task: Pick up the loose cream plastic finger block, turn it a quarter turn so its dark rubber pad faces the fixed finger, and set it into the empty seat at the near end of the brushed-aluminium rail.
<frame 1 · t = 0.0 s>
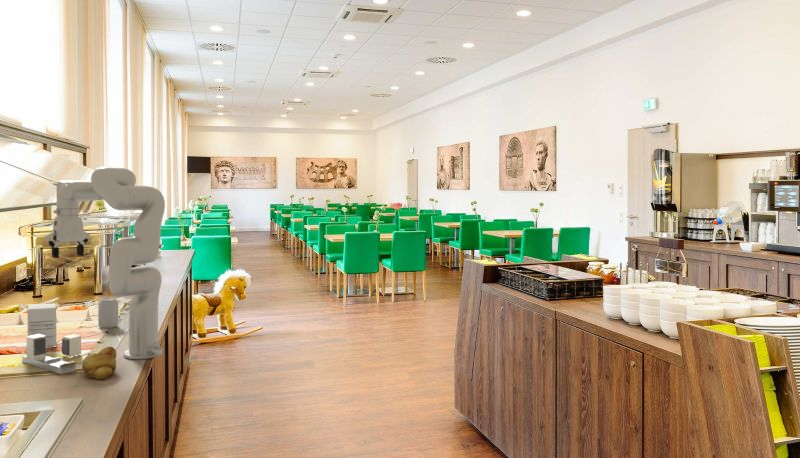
hand: (68, 256, 227), 31 cm above the counter, tool pointing down, fingers open, 9 cm apart
finger: (72, 356, 203), on the counter
supplement box: (42, 346, 214), on the counter
rail: (48, 366, 191), on the counter
bread roll: (99, 376, 185), on the counter
grey upright block: (108, 327, 245), on the counter
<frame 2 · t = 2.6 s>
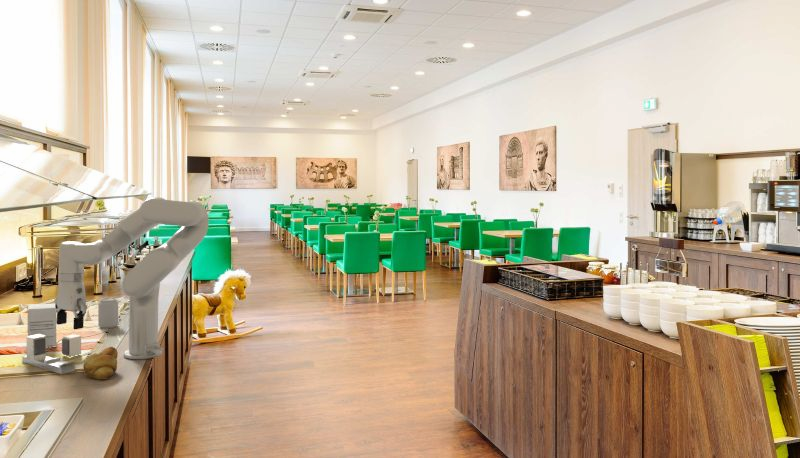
hand: (69, 326, 203), 11 cm above the counter, tool pointing down, fingers open, 9 cm apart
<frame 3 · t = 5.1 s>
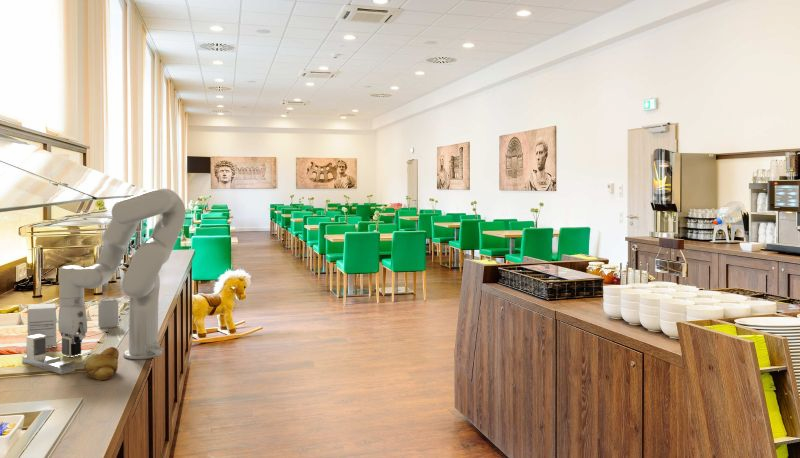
hand: (72, 352, 203), 1 cm above the counter, tool pointing down, fingers closed on finger, 4 cm apart
finger: (72, 355, 203), on the counter, touching gripper
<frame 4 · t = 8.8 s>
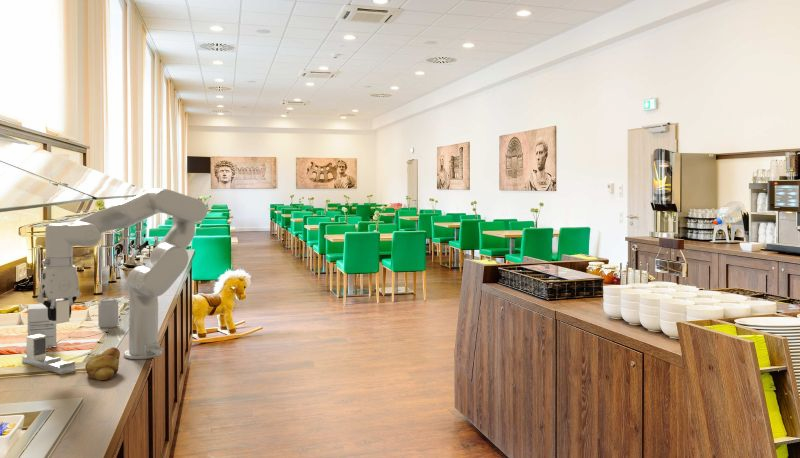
hand: (59, 318, 187), 17 cm above the counter, tool pointing down, fingers closed on finger, 4 cm apart
finger: (59, 321, 187), point 16 cm above the counter, touching gripper
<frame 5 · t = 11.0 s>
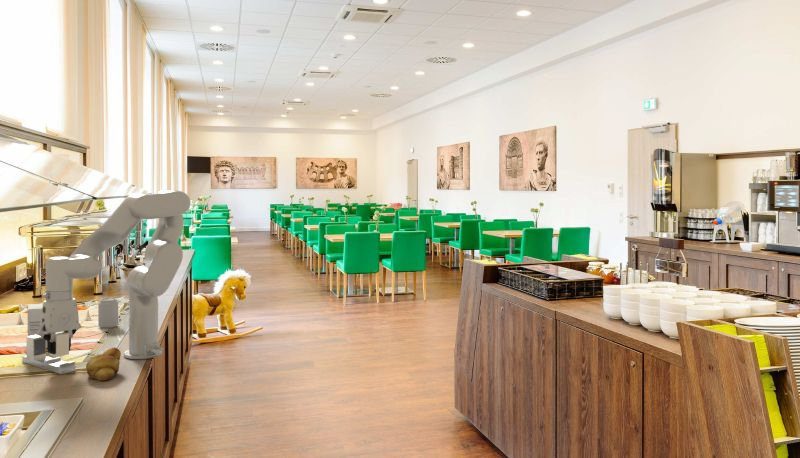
hand: (59, 351, 188), 6 cm above the counter, tool pointing down, fingers closed on finger, 4 cm apart
finger: (59, 354, 188), point 5 cm above the counter, touching gripper
when the fingers open (5 cm above the counter, at t = 12.6 s): finger drops 2 cm, resting on rail.
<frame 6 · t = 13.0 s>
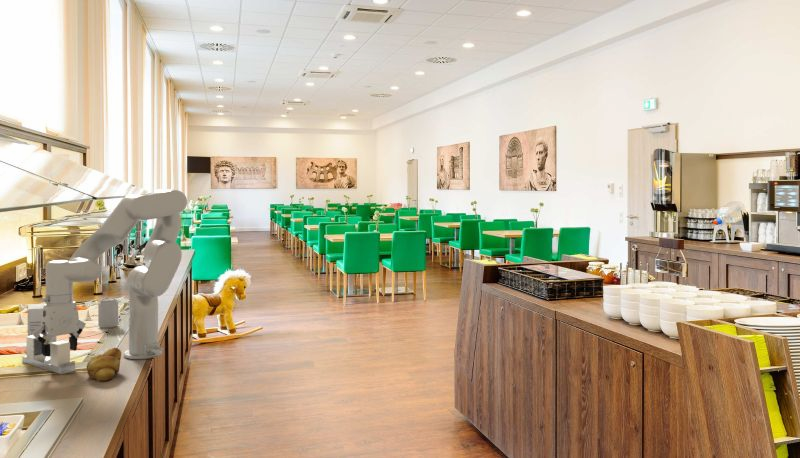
hand: (59, 352, 188), 6 cm above the counter, tool pointing down, fingers open, 8 cm apart
finger: (60, 363, 188), point 2 cm above the counter, touching rail
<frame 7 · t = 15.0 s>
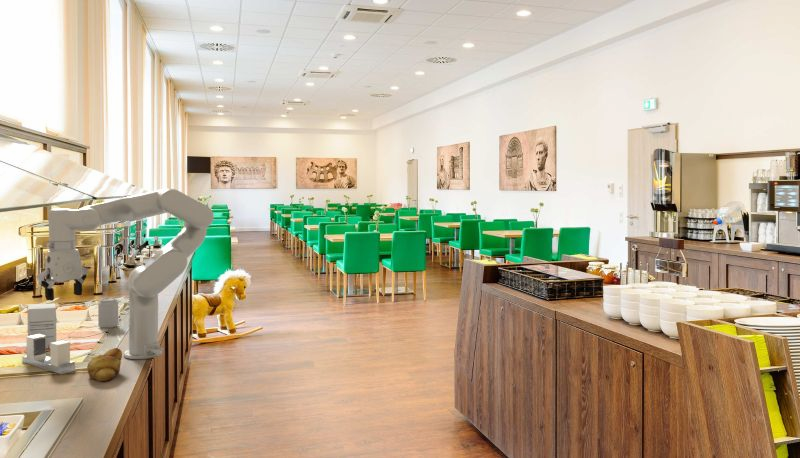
hand: (64, 297, 193), 22 cm above the counter, tool pointing down, fingers open, 9 cm apart
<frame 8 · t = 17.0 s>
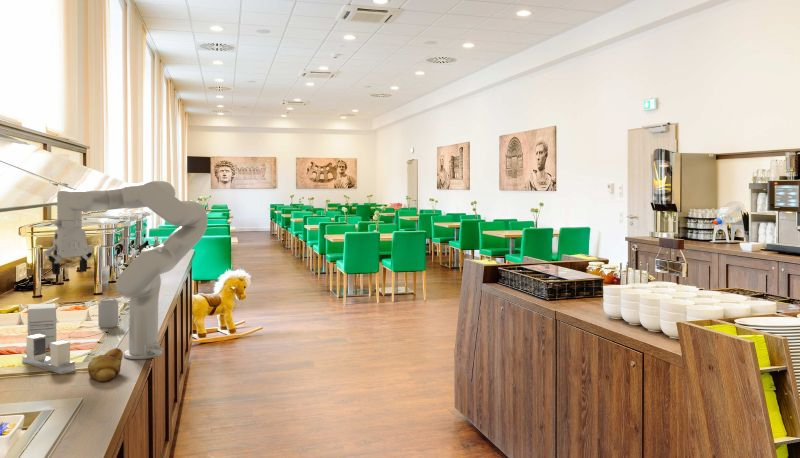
hand: (69, 272, 207), 28 cm above the counter, tool pointing down, fingers open, 9 cm apart
at the end: finger 0.1 cm from the target spot on the rail, point 2.0 cm above the rail's base; finger tilted 0°; finger touching rail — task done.
